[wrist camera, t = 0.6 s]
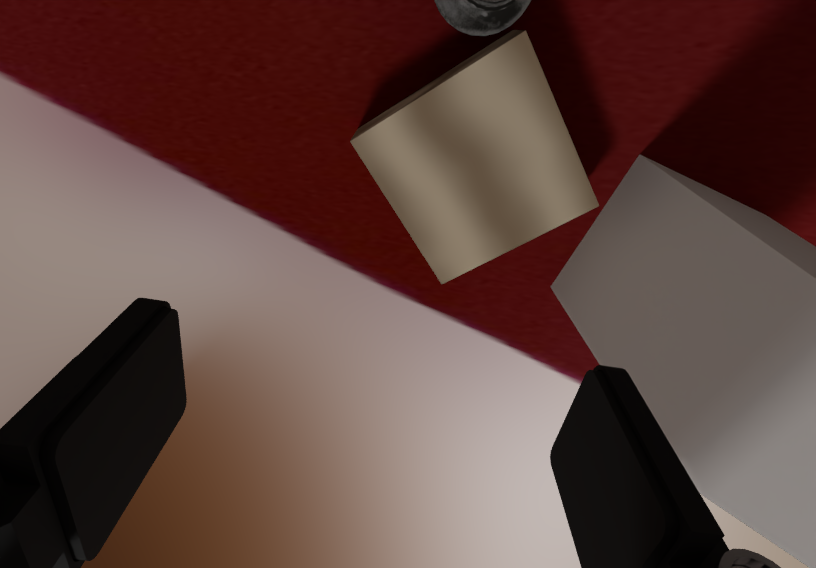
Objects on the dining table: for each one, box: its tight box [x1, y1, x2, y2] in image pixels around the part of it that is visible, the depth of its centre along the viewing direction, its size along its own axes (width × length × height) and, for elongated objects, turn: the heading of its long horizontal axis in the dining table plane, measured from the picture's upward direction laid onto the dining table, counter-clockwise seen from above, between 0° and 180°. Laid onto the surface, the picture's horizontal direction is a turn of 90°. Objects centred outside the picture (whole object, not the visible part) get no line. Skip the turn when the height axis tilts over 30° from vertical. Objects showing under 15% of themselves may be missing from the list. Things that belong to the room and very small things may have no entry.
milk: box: [551, 155, 816, 568], centre depth 26 cm, size 12×12×26 cm
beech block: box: [350, 30, 599, 284], centre depth 32 cm, size 12×12×4 cm
